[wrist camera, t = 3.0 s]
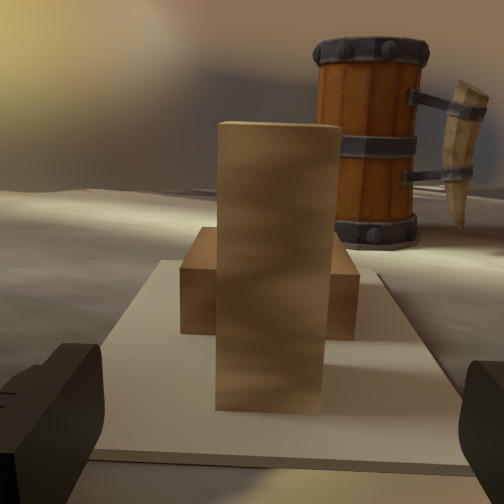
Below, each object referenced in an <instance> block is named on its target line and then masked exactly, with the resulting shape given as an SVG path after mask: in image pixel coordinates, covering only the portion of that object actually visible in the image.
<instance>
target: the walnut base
mask: <svg viewBox="0 0 504 504" xmlns="http://www.w3.org/2000/svg"><path fill="white" fill-rule="evenodd" d="M179 274H180V334H193V335H216V279H217V227H202V228H201V230H200V232H199V234H198V235H197V237H196V239H195V241H194V243H193V244H192V246H191V248H190V250H189V252H188V254H187V255H186V257H185V259H184V261H183V263H182V264H181V266H180V268H179ZM359 284H360V274H359V272H358V270H357V268H356V267H355V265H354V263H353V261H352V260H351V258H350V256H349V255H348V253H347V251H346V249H345V248H344V246H343V244H342V242H341V241H340V239H339V237H338V236H337V234H336V232H334V239H333V251H332V264H331V276H330V288H329V301H328V313H327V326H326V338H325V340H342V341H354V335H355V324H356V314H357V304H358V294H359Z"/></svg>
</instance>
